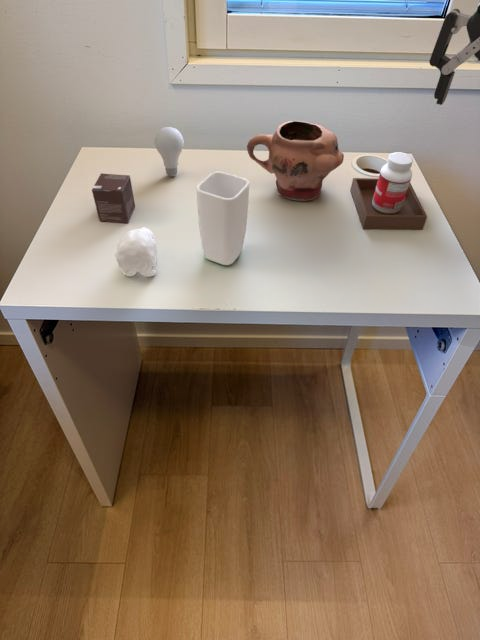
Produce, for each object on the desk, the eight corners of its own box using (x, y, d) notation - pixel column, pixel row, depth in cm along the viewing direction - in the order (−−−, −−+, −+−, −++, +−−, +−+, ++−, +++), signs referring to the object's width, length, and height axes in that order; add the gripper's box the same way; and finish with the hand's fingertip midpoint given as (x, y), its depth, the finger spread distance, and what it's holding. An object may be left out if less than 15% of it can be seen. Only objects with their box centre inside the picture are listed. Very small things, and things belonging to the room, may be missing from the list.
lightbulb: (180, 185, 103) (177, 136, 95) (154, 180, 104) (148, 132, 96) (189, 171, 107) (186, 124, 99) (163, 167, 108) (159, 120, 100)
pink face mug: (243, 203, 99) (246, 140, 89) (246, 173, 107) (249, 112, 97) (338, 209, 98) (351, 146, 88) (333, 178, 107) (345, 118, 96)
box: (136, 207, 97) (131, 175, 91) (128, 224, 93) (122, 191, 87) (107, 204, 97) (100, 172, 92) (98, 221, 93) (90, 189, 88)
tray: (422, 229, 94) (427, 217, 92) (362, 229, 94) (366, 216, 92) (404, 191, 104) (408, 178, 102) (350, 190, 103) (353, 177, 101)
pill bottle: (372, 196, 101) (385, 148, 93) (400, 200, 100) (416, 152, 92) (370, 212, 97) (384, 163, 89) (400, 217, 96) (417, 168, 88)
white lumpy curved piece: (110, 243, 74) (124, 206, 83) (118, 285, 80) (130, 247, 89) (150, 244, 75) (159, 207, 83) (155, 286, 80) (163, 248, 89)
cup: (215, 239, 90) (214, 168, 79) (249, 251, 88) (253, 180, 77) (196, 260, 86) (192, 188, 75) (230, 273, 84) (232, 201, 73)
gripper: (456, -46, 50) (411, 107, 62) (604, -25, 45) (524, 136, 57) (473, -56, 55) (427, 89, 67) (608, -38, 50) (533, 114, 62)
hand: (472, 110), depth 62 cm, fingers open, 8 cm apart
